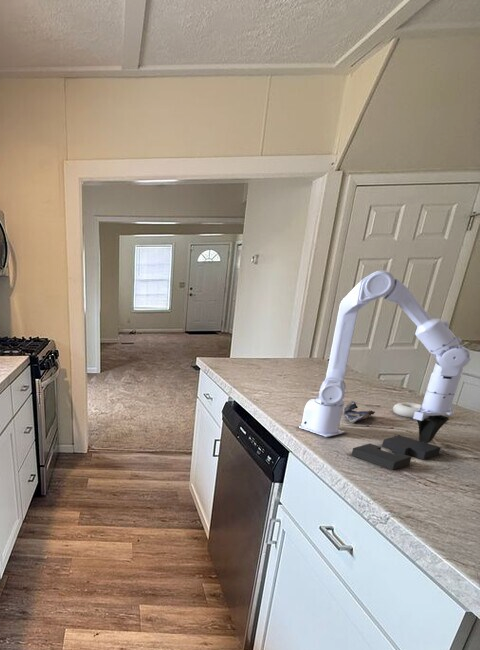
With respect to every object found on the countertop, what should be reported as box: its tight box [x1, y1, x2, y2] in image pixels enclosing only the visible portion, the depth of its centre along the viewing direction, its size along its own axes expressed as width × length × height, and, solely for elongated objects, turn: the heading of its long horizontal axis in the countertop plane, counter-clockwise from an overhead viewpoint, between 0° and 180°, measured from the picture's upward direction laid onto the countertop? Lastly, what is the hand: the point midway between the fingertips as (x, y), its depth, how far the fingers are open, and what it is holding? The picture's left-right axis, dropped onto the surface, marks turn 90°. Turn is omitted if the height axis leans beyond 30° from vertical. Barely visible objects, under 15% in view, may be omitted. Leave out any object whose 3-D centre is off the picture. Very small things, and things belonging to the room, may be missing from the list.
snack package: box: [343, 401, 376, 424], centre depth 129 cm, size 12×6×12 cm
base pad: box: [351, 443, 412, 471], centre depth 100 cm, size 10×7×2 cm
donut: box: [392, 401, 422, 419], centre depth 132 cm, size 10×4×10 cm
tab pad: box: [381, 434, 442, 460], centre depth 104 cm, size 10×9×2 cm
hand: (424, 441), depth 107 cm, fingers closed
